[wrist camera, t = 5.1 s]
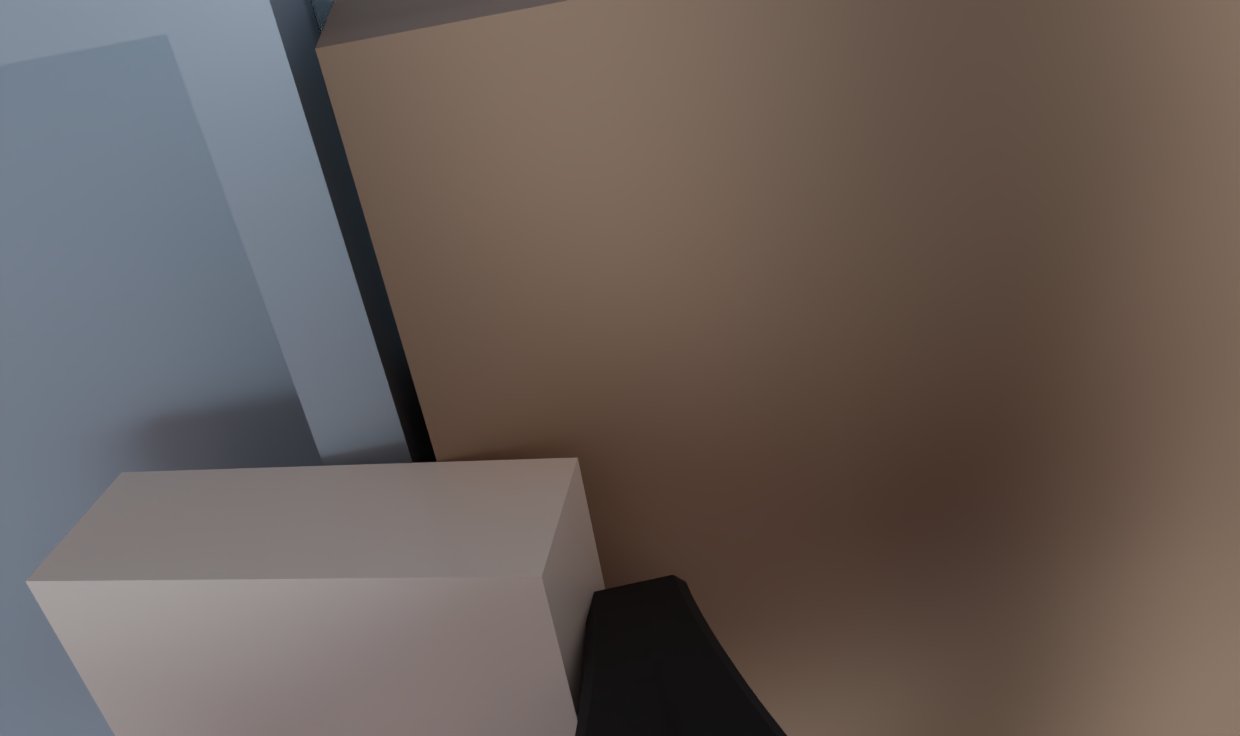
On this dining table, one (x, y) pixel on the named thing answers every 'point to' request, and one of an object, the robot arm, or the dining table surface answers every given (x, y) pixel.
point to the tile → (331, 599)
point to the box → (172, 283)
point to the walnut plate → (845, 327)
